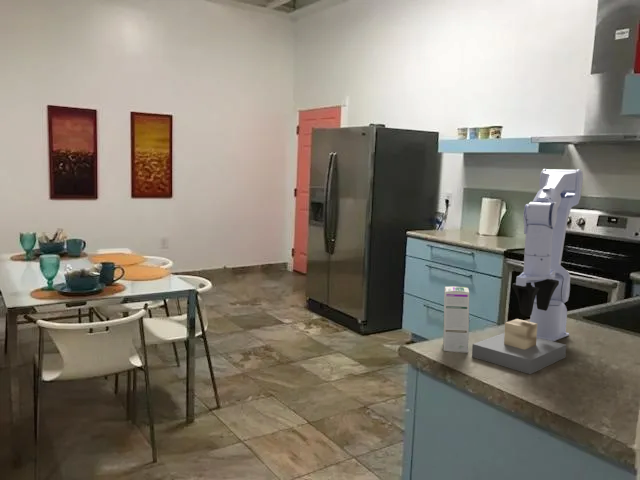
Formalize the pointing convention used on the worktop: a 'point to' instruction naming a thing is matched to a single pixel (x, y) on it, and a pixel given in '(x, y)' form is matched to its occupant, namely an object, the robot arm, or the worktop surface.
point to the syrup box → (456, 319)
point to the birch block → (520, 334)
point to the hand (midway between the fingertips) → (534, 312)
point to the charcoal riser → (519, 354)
